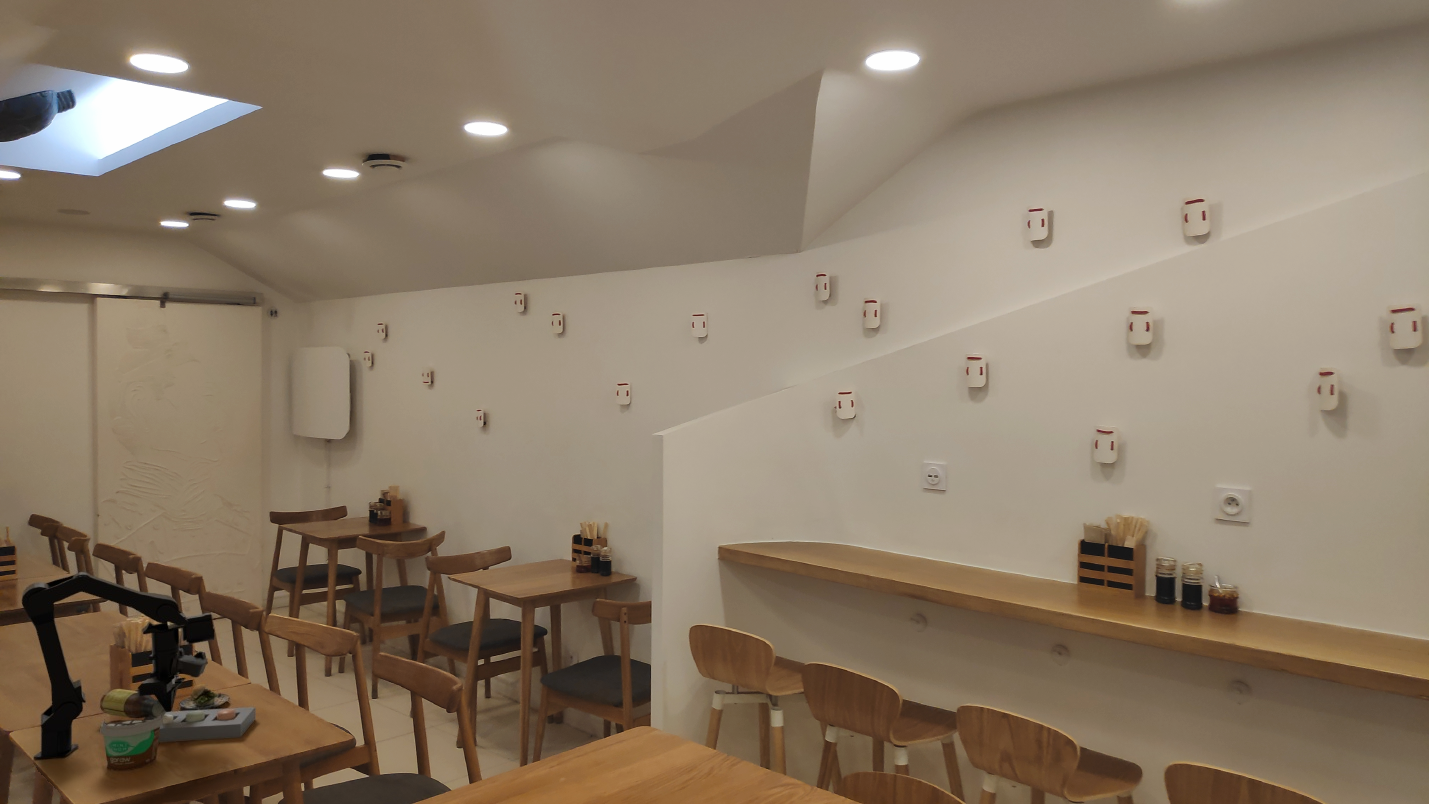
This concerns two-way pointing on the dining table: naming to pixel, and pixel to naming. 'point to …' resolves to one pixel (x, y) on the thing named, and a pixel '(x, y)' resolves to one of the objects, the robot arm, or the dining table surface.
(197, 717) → the sage button
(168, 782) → the dining table surface
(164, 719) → the cream button
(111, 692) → the sauce bottle
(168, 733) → the panel
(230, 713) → the terracotta button
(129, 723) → the food container
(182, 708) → the burger
